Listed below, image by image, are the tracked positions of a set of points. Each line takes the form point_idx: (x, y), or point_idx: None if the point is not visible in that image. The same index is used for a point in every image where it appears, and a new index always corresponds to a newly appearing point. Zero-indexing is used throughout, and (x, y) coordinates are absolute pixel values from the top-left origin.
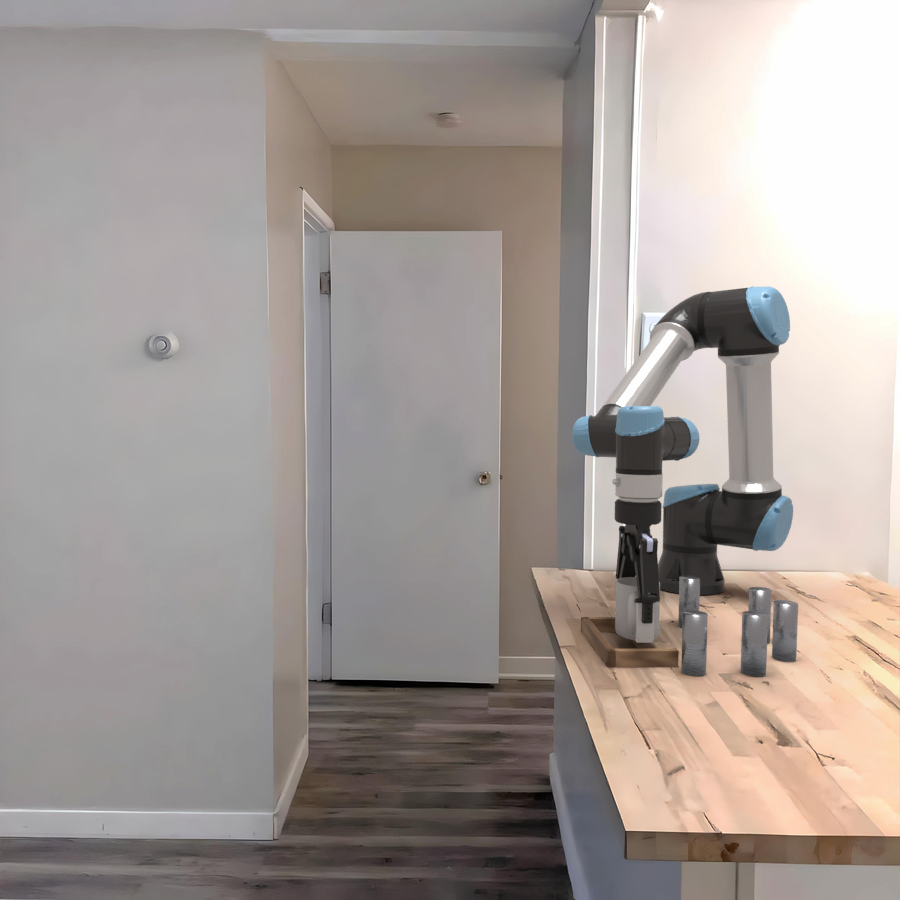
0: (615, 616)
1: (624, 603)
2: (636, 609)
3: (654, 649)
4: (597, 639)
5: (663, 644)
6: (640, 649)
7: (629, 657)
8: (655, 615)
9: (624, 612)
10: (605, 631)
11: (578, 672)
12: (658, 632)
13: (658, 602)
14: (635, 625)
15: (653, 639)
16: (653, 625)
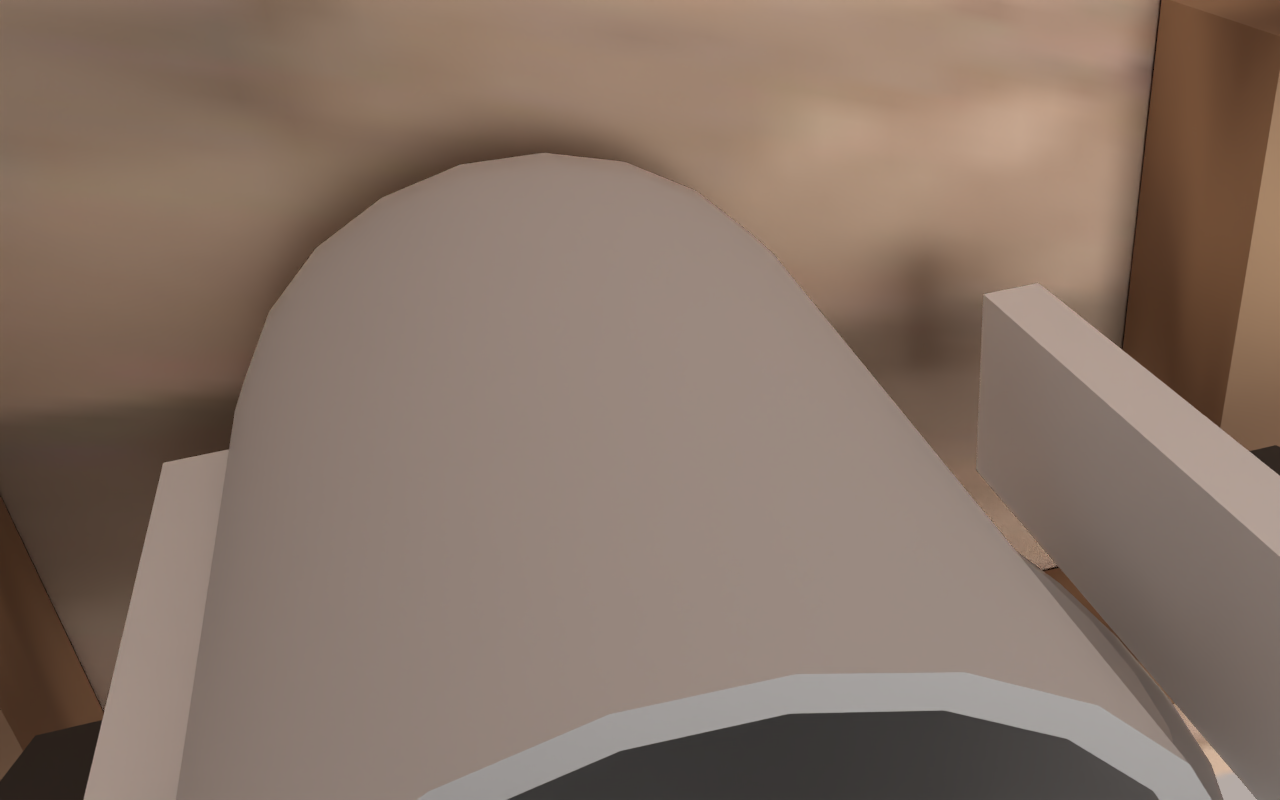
0: (570, 787)
1: None
2: (1219, 740)
3: (1275, 299)
4: None
5: (420, 11)
6: (1244, 434)
7: None
8: (861, 364)
9: (825, 779)
10: (68, 658)
11: (1214, 755)
12: (651, 178)
13: (873, 425)
14: (1059, 585)
15: (1060, 301)
16: (1166, 391)
